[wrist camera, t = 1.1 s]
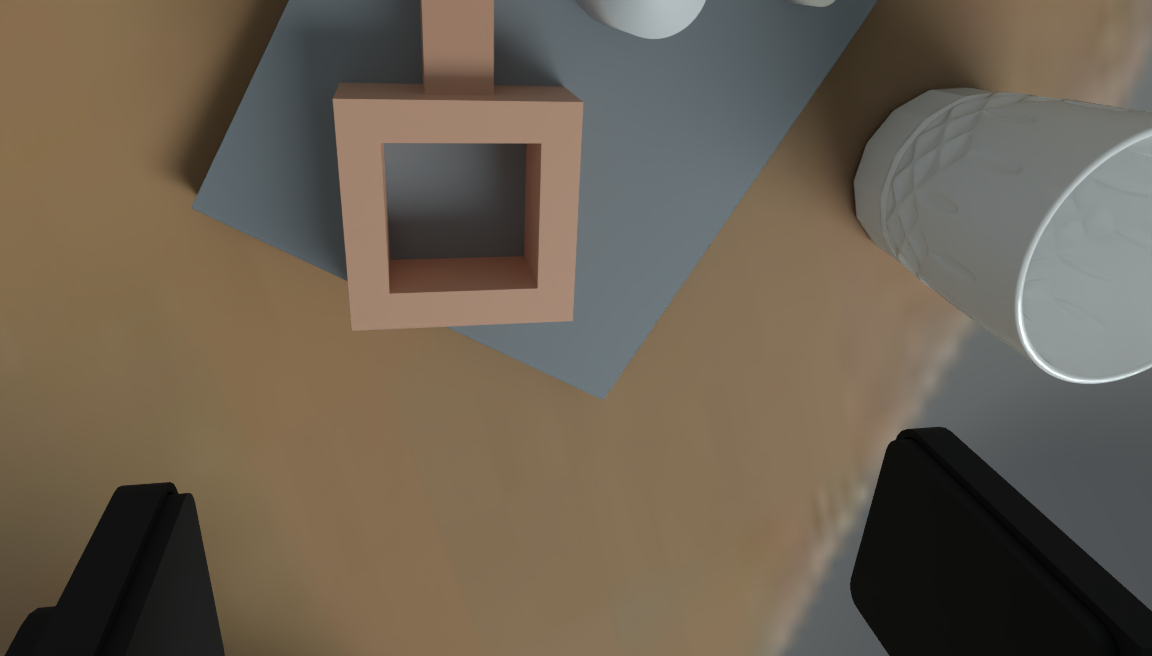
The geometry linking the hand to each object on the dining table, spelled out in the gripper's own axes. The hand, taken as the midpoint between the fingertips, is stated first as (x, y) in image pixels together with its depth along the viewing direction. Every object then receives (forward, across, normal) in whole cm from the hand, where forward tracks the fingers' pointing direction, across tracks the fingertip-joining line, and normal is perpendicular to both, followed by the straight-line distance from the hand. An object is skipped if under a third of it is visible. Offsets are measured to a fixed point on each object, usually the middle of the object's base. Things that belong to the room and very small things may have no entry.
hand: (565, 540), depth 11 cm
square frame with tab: (+18, 0, -1) cm, 18 cm away
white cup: (+19, -18, 0) cm, 27 cm away
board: (+19, -3, -3) cm, 19 cm away
